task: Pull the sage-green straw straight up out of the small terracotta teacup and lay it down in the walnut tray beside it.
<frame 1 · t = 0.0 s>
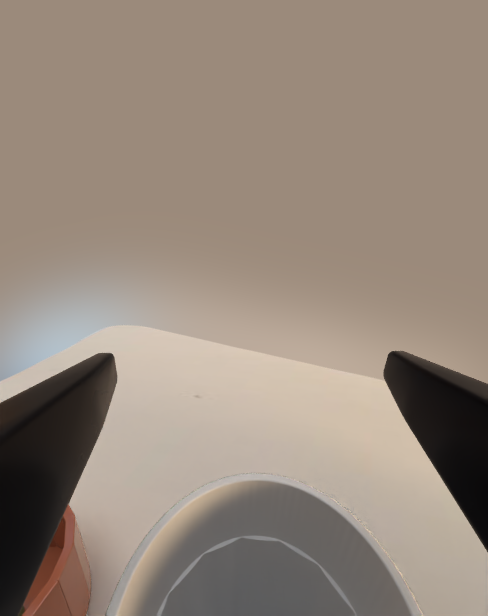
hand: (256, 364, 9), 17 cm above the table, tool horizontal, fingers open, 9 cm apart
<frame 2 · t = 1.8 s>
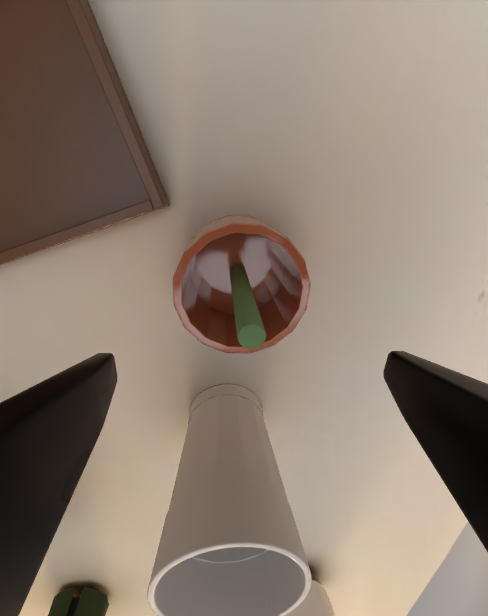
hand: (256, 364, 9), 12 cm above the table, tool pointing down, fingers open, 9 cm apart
straw: (237, 271, 19), resting on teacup
character mug: (84, 593, 34), on the table
cup: (226, 411, 25), on the table
spread jar: (282, 589, 37), on the table
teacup: (237, 269, 20), on the table, touching straw
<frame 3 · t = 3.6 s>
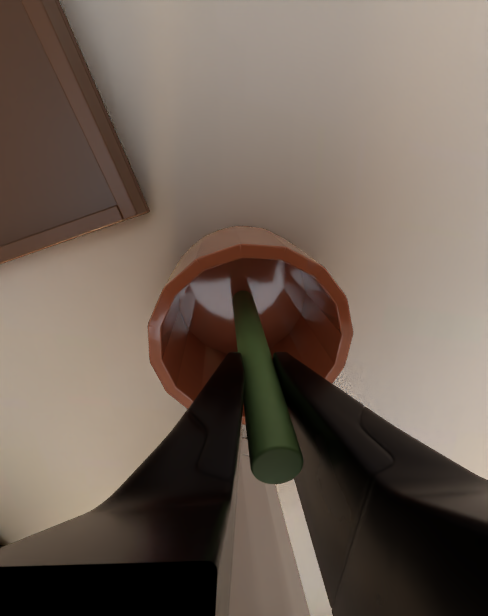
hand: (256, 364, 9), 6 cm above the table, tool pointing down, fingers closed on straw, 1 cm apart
straw: (242, 300, 14), resting on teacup, touching gripper
cup: (227, 467, 20), on the table
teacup: (242, 297, 15), on the table
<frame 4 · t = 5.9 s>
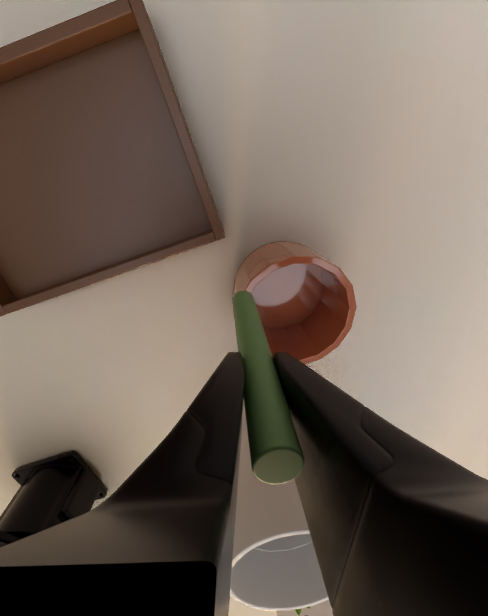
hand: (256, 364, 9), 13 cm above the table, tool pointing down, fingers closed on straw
tray: (74, 182, 18), on the table
straw: (243, 300, 14), point 7 cm above the table, touching gripper
cup: (263, 415, 27), on the table
spread jar: (306, 581, 39), on the table
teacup: (280, 288, 22), on the table
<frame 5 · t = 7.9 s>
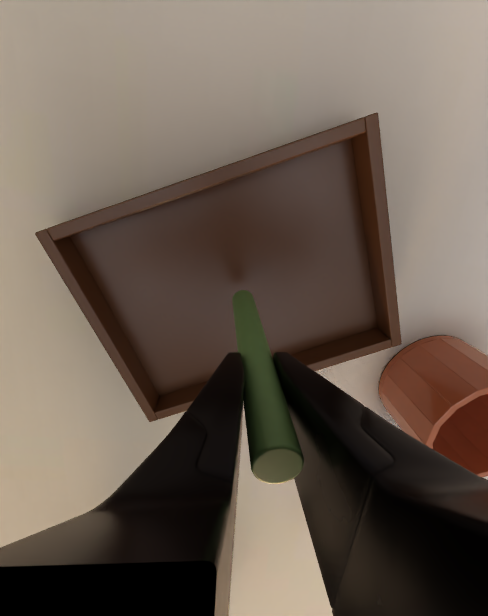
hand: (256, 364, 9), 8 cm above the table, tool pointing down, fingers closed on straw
tray: (239, 284, 17), on the table
straw: (242, 299, 14), point 3 cm above the table, touching gripper
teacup: (426, 379, 21), on the table
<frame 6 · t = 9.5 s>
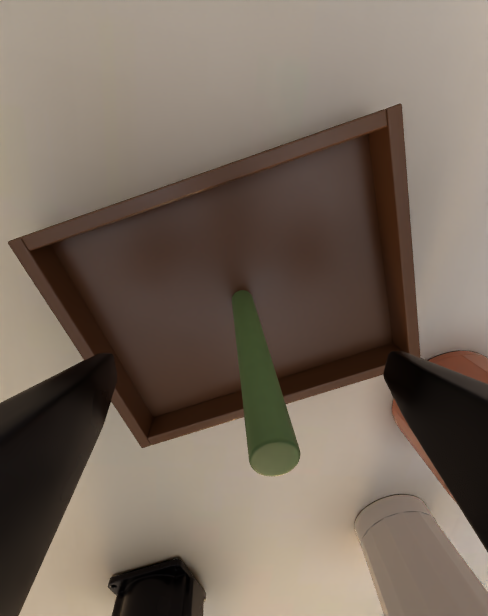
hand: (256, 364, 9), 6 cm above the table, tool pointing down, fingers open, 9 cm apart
tray: (241, 296, 15), on the table
straw: (242, 299, 15), resting on tray
cup: (389, 517, 24), on the table
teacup: (444, 397, 19), on the table
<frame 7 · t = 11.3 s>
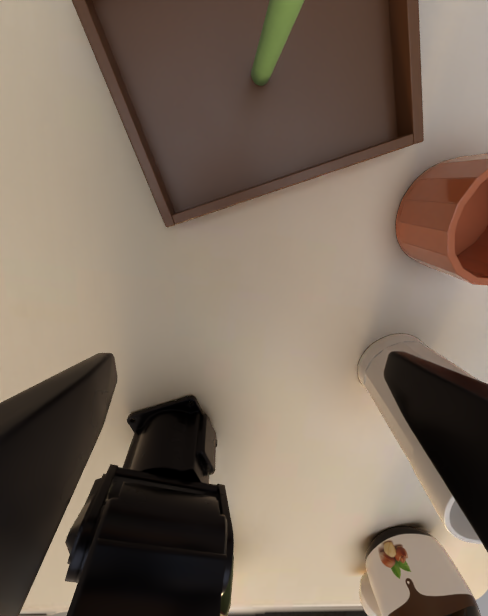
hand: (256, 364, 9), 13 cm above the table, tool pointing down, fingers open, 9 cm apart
tray: (259, 77, 16), on the table
straw: (260, 74, 16), resting on tray
character mug: (208, 547, 35), on the table
cup: (390, 363, 26), on the table
spread jar: (388, 549, 38), on the table
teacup: (444, 214, 20), on the table
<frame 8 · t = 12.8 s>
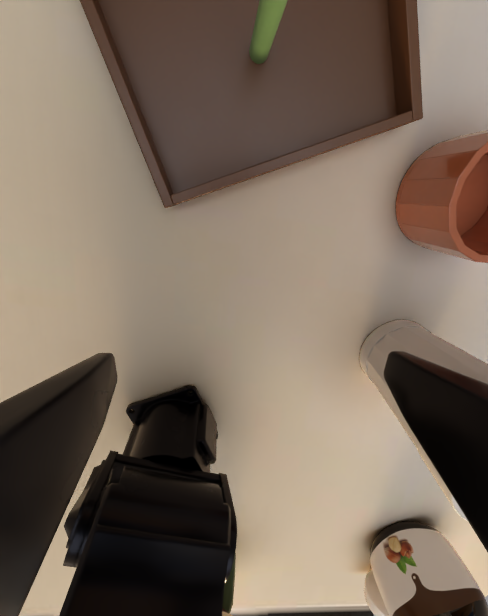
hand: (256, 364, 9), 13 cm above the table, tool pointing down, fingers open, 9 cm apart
tray: (257, 56, 16), on the table
straw: (258, 52, 16), resting on tray
character mug: (209, 545, 34), on the table
cup: (392, 350, 25), on the table
spread jar: (393, 545, 38), on the table
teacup: (444, 196, 20), on the table
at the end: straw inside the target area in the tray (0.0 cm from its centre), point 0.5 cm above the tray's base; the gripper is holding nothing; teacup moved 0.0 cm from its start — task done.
